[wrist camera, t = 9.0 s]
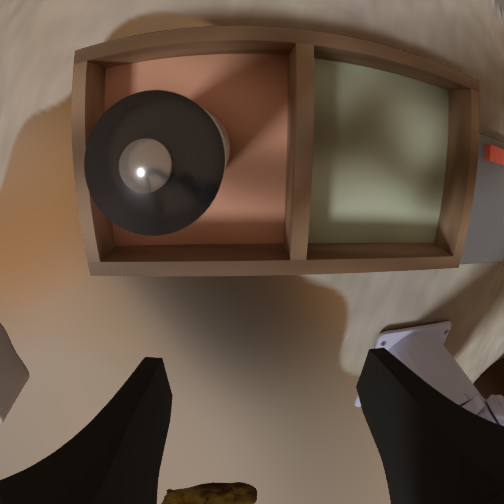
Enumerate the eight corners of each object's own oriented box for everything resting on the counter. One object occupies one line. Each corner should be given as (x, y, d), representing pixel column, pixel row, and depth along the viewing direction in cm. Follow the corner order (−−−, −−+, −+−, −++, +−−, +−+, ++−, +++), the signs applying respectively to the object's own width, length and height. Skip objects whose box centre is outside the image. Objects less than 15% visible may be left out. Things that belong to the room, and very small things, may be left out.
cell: (231, 183, 15) (225, 239, 8) (156, 187, 15) (88, 243, 7) (230, 108, 13) (222, 81, 6) (153, 113, 13) (74, 102, 6)
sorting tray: (430, 247, 18) (458, 267, 15) (113, 250, 17) (90, 275, 14) (445, 84, 14) (478, 80, 10) (102, 63, 13) (75, 50, 9)
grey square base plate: (505, 256, 19) (516, 263, 18) (437, 259, 19) (448, 268, 17) (523, 153, 15) (535, 156, 14) (455, 127, 15) (470, 128, 13)
